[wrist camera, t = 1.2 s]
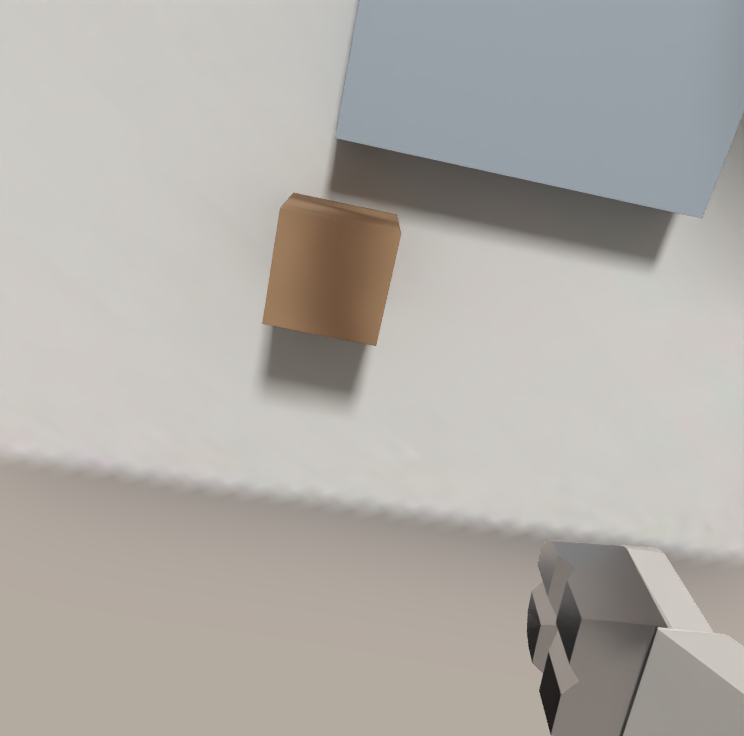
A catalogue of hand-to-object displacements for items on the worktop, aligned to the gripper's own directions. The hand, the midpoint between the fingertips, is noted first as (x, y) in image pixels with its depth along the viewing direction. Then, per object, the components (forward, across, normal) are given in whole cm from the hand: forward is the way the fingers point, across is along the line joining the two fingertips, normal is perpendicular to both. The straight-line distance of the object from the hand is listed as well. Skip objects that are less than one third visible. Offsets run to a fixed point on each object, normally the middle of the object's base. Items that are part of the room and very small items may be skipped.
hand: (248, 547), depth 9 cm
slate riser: (+28, -8, -11) cm, 31 cm away
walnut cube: (+27, +1, +1) cm, 27 cm away
